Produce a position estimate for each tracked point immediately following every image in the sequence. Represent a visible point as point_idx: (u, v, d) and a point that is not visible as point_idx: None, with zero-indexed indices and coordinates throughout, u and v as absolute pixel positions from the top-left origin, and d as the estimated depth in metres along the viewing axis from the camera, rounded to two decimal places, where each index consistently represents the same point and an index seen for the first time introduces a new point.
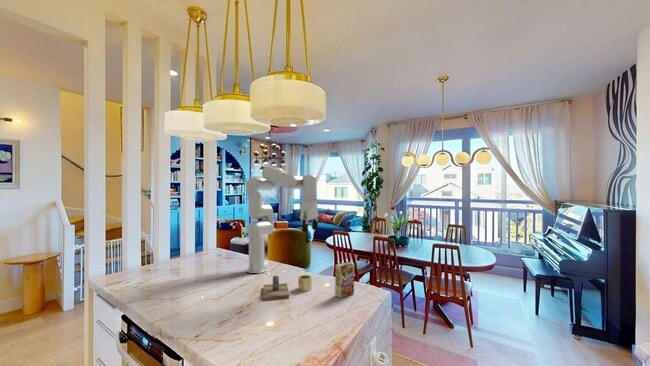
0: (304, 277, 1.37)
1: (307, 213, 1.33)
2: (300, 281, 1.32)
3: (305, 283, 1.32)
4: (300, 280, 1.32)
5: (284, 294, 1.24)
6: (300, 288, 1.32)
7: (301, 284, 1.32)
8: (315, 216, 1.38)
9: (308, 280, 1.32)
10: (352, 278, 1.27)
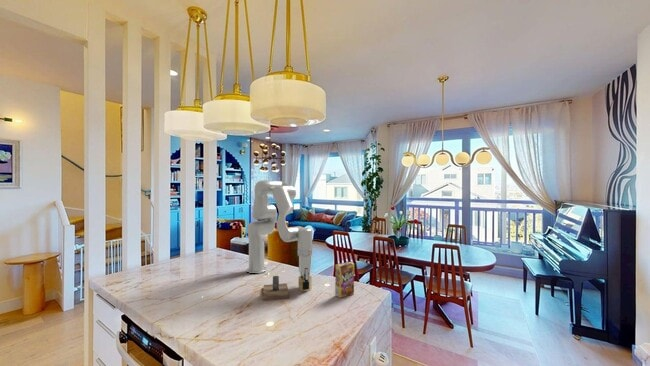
0: (304, 277, 1.37)
1: (309, 271, 1.30)
2: (300, 281, 1.32)
3: None
4: (300, 280, 1.32)
5: (284, 294, 1.24)
6: (300, 288, 1.32)
7: (301, 284, 1.32)
8: None
9: None
10: (352, 278, 1.27)
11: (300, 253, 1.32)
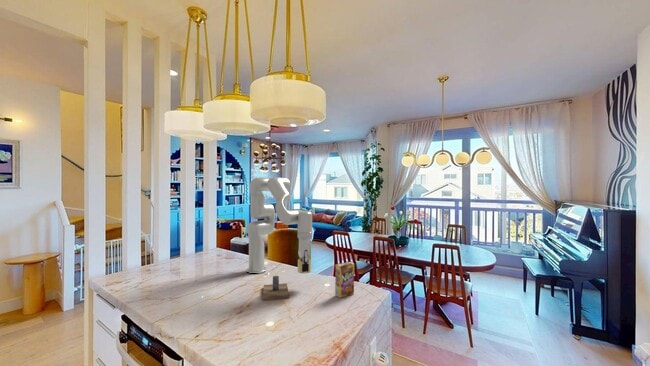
0: None
1: (308, 253, 1.31)
2: (299, 263, 1.33)
3: None
4: (299, 262, 1.33)
5: (284, 294, 1.24)
6: (299, 270, 1.33)
7: (300, 266, 1.33)
8: None
9: None
10: (352, 278, 1.27)
11: (300, 235, 1.32)
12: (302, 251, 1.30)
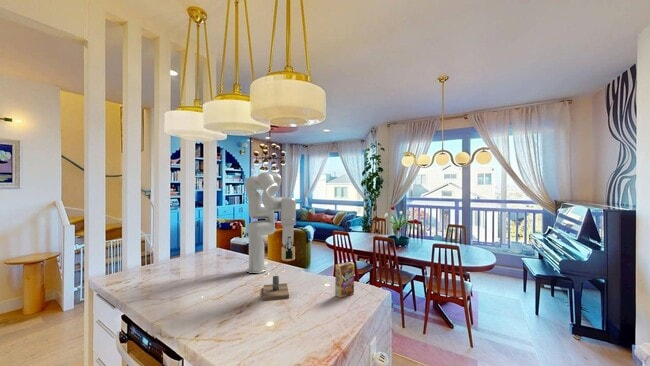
0: None
1: (292, 240, 1.28)
2: (283, 251, 1.30)
3: None
4: (283, 250, 1.30)
5: (284, 294, 1.24)
6: (283, 258, 1.30)
7: (284, 253, 1.30)
8: None
9: None
10: (352, 278, 1.27)
11: (283, 222, 1.30)
12: (285, 238, 1.27)
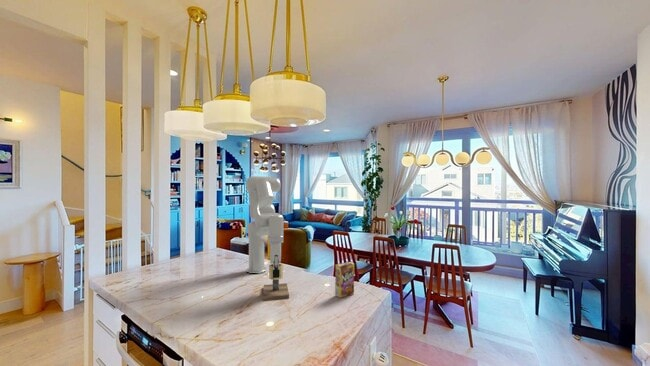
0: None
1: (279, 258, 1.25)
2: (270, 269, 1.27)
3: None
4: (270, 268, 1.27)
5: (284, 294, 1.24)
6: (270, 276, 1.27)
7: (271, 272, 1.27)
8: None
9: (279, 268, 1.27)
10: (352, 278, 1.27)
11: (270, 240, 1.27)
12: (272, 256, 1.25)
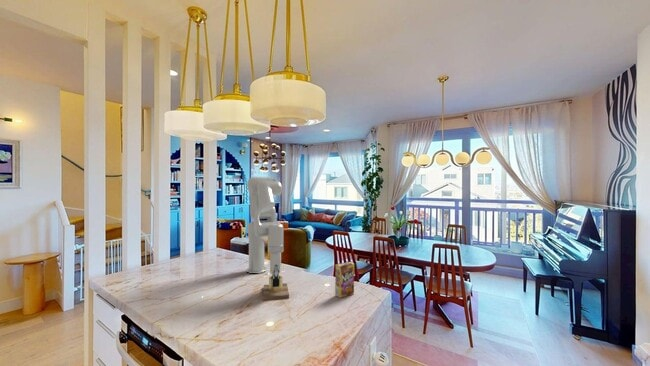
0: None
1: (279, 266, 1.26)
2: (270, 282, 1.27)
3: None
4: (270, 281, 1.27)
5: (284, 294, 1.24)
6: (270, 289, 1.27)
7: (271, 284, 1.27)
8: None
9: None
10: (352, 278, 1.27)
11: (270, 250, 1.27)
12: (272, 266, 1.25)
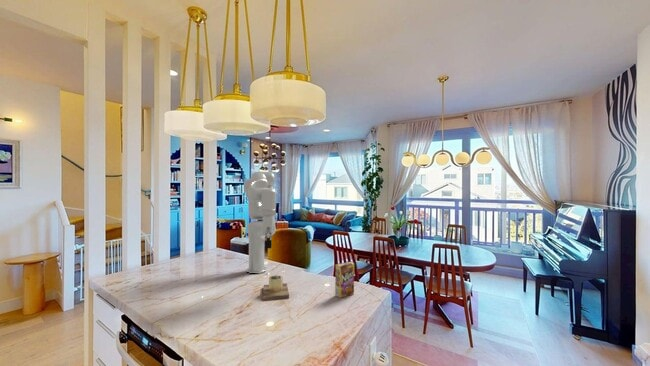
0: None
1: (271, 229, 1.30)
2: (270, 282, 1.27)
3: (275, 284, 1.26)
4: (270, 281, 1.27)
5: (284, 294, 1.24)
6: (270, 289, 1.27)
7: (271, 284, 1.27)
8: None
9: (278, 281, 1.27)
10: (352, 278, 1.27)
11: (263, 213, 1.31)
12: (264, 228, 1.29)
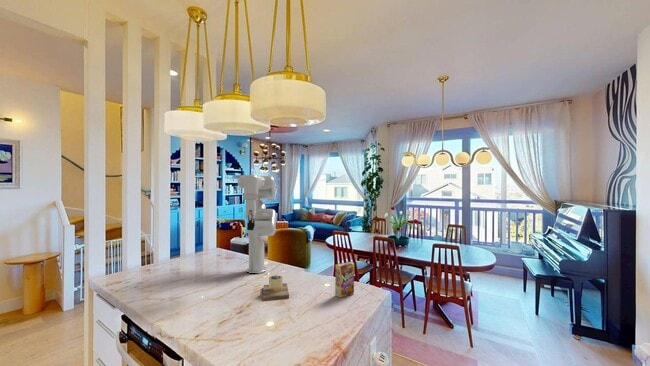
0: None
1: (253, 212, 1.37)
2: (270, 282, 1.27)
3: (275, 284, 1.26)
4: (270, 281, 1.27)
5: (284, 294, 1.24)
6: (270, 289, 1.27)
7: (271, 284, 1.27)
8: None
9: (278, 281, 1.27)
10: (352, 278, 1.27)
11: (245, 197, 1.39)
12: (247, 211, 1.36)
